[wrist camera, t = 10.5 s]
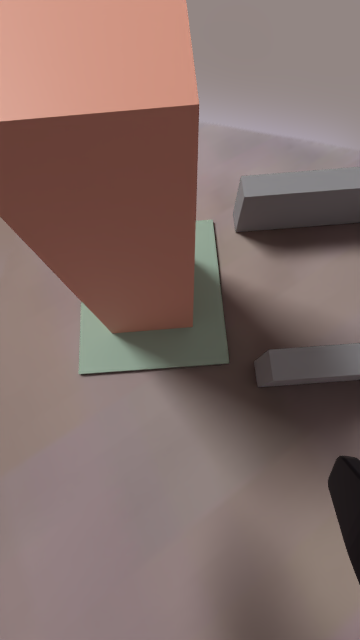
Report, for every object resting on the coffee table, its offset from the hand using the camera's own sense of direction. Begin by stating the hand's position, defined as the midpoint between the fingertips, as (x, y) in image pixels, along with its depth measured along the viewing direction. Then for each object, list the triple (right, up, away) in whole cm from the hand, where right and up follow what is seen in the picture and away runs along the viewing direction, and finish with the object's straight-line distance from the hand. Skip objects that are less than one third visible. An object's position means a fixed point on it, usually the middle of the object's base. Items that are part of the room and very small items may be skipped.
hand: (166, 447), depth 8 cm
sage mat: (-2, +5, +12) cm, 13 cm away
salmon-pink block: (-2, +5, +12) cm, 13 cm away
